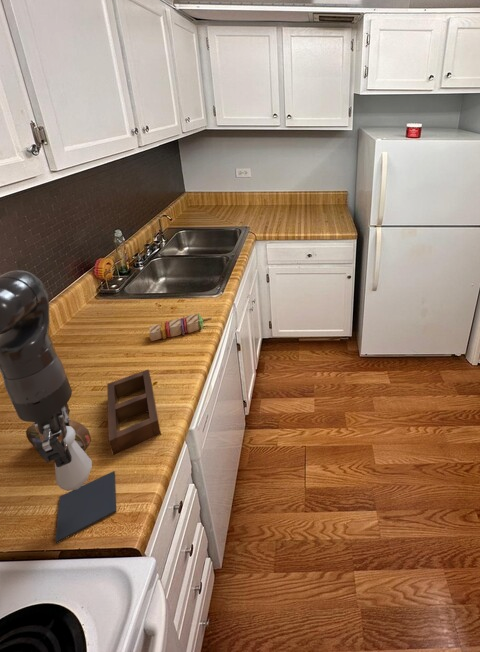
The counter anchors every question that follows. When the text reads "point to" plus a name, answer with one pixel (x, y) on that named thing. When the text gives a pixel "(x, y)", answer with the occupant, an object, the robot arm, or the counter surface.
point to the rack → (131, 412)
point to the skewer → (177, 327)
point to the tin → (80, 430)
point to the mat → (86, 506)
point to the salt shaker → (73, 465)
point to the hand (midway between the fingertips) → (65, 451)
